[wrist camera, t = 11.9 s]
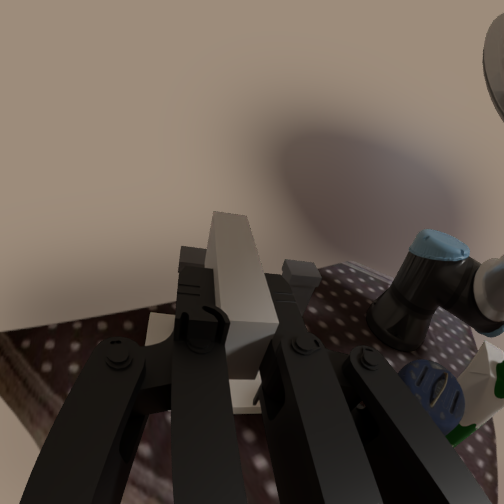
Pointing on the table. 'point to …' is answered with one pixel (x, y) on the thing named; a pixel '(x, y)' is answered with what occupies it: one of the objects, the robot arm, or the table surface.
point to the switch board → (239, 389)
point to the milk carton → (480, 391)
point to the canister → (435, 392)
